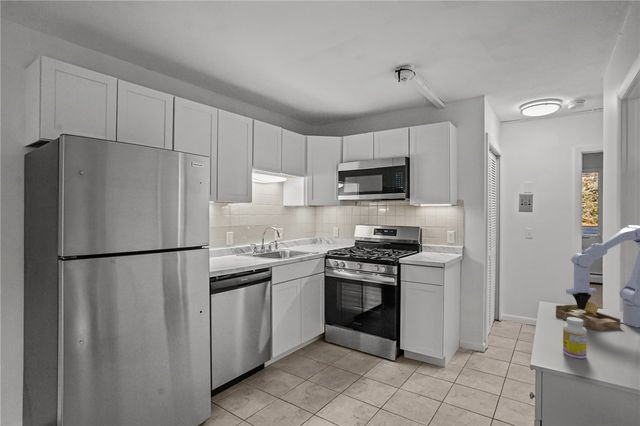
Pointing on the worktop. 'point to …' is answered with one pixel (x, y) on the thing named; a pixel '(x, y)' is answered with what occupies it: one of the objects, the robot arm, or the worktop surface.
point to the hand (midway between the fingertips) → (581, 309)
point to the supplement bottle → (575, 338)
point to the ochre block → (591, 308)
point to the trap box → (588, 317)
